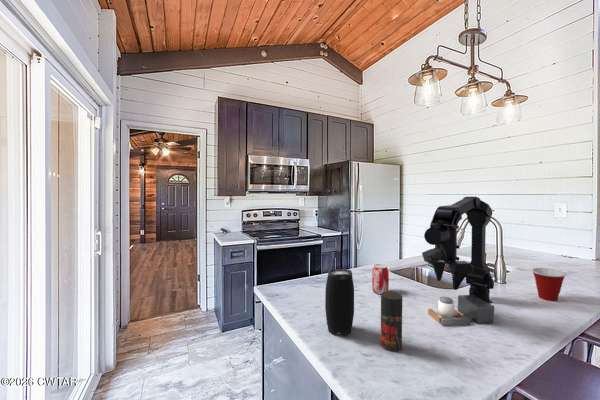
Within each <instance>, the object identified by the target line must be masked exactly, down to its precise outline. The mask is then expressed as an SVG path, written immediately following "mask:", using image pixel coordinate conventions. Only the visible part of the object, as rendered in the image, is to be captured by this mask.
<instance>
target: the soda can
mask: <svg viewBox="0 0 600 400" xmlns="http://www.w3.org/2000/svg"><path fill="white" fill-rule="evenodd" d="M389 273H390V272H389V268H388V265H385V264H379V263H378V264H376V263H375V264H374V265H373V267H372V273H371V274H372V275H371V277H372V280H371V282H372V283H371V287H372V292H374V293H375V294H378V295H381V293H383V292H389V283H390V281H389V280H390V277H389V275H390V274H389Z"/></svg>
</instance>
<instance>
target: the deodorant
mask: <svg viewBox="0 0 600 400" xmlns="http://www.w3.org/2000/svg"><path fill="white" fill-rule="evenodd" d="M380 347H381V348H382V349H384V350H386V351H388V352H391V353H392V352H393V353H396V352H400V351H401V350H402V349H403V295H402V294H401V293H398V292H394V291H388V292H383V293H381V294H380Z"/></svg>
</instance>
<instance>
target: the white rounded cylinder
mask: <svg viewBox="0 0 600 400" xmlns="http://www.w3.org/2000/svg"><path fill="white" fill-rule="evenodd" d="M437 301H438V305H437V313H438V314H439V315H440V316H442V317H443V318H455V317H454V309H455V302H454V301H453V299H452V298H450V297H448V296H439V299H438V300H437Z"/></svg>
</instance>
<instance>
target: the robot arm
mask: <svg viewBox="0 0 600 400" xmlns="http://www.w3.org/2000/svg"><path fill="white" fill-rule="evenodd" d="M464 214H465V215H466V220H467V222H468V223H469V225H470V226H471V252H470V253H471V255H470V256H471V257H470V259H471V260H470V262H469V261H465V260H460V256H457V252H458V251H457V250H459V249H460V247H461V246H460V245H458V244H457V243H458V238H457V237H458V229H460V226H459V222H460V221H461V220H462V219H463V215H464ZM492 215H493V209H492V208H491V206H490V205H489V203H487V202H485V201H484V200H481V199H480V197H477V196H464V197H463V198H461V199H460V200H458V201H456V202H454V203H453V204H450V205H449V204H448V205H440V206H438V207H437V208H436V210H435V212H434V213H433V217H432V219H431V221H430V224H429V228H427V229H426V230H425V232H424V234H423V236H424V241H426V243H427V244H429V245H431V246H434V248H430V249H428V250H425V251H423V252H421V254H422V258H423V260H424V262H425V263H428V264H430V265H431V266H432V268H433V270H434V274H435V278H436V280H437V281H438V282H441V281H442V278H443V275H444V270H445V268H446V264H447V265H448V268H449V269H448V272H449V274H451V277H452V279H451V280H452V288H453V290H454V291H458V289H459V287H460V286H461V285H462V282H464V280H465V283H466V284H467V285H469V289H468V295H474V296H476V297H478V298H480V299H482V300H484V301H485V302H487V303H489V304H491V303H493V300H491V299H490V290H493V289H494V287H495V281H494V279H493V277H492V274H491V269H490V267H489V266H488V264H487V263H486V228H487V226H488V225H489V223H490V222H491V221H492V220H491V219H492Z"/></svg>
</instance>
